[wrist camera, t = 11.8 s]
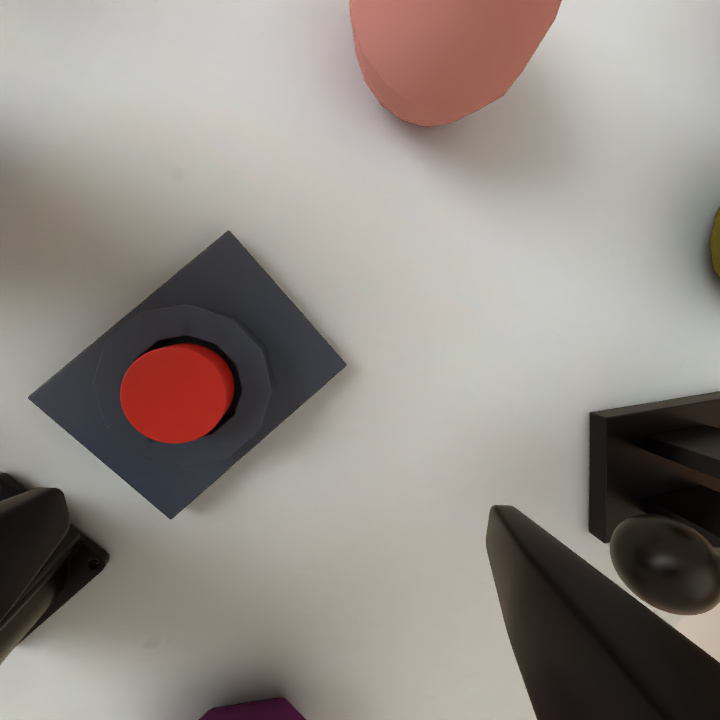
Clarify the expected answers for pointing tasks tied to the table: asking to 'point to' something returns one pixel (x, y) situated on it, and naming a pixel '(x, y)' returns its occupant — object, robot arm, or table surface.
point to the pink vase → (445, 52)
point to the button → (177, 392)
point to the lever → (667, 564)
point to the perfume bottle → (255, 711)
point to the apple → (716, 243)
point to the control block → (212, 330)
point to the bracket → (657, 464)
